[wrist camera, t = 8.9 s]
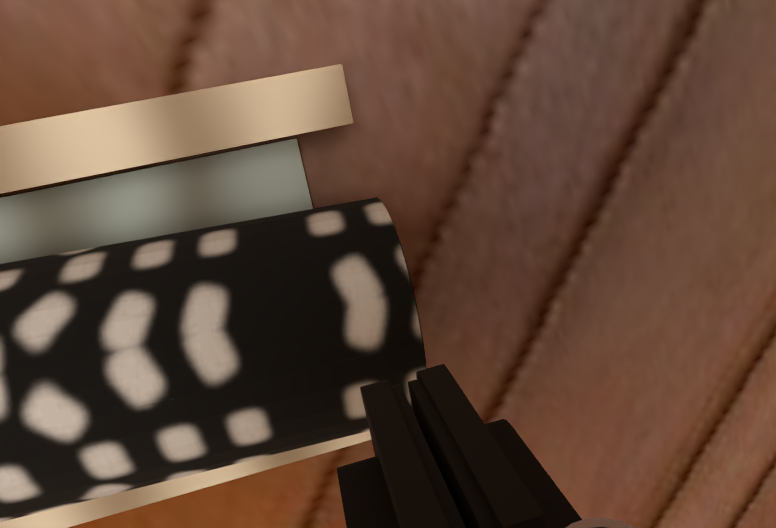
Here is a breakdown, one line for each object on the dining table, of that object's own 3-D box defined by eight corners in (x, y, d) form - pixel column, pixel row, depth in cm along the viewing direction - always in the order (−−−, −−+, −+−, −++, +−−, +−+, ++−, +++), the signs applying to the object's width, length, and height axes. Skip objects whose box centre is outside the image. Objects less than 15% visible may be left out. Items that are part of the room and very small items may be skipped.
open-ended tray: (331, 71, 21) (347, 60, 16) (395, 387, 26) (422, 448, 21) (-425, 210, 17) (-684, 246, 13) (-189, 548, 22) (-313, 666, 17)
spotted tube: (431, 466, 19) (-207, 633, 15) (380, 320, 25) (-73, 417, 22) (424, 280, 14) (-498, 469, 11) (363, 162, 21) (-215, 257, 17)
